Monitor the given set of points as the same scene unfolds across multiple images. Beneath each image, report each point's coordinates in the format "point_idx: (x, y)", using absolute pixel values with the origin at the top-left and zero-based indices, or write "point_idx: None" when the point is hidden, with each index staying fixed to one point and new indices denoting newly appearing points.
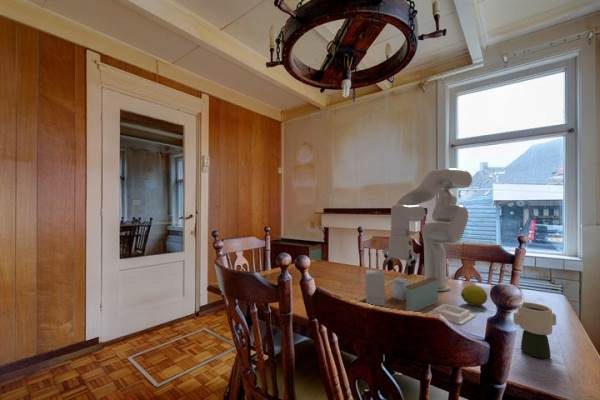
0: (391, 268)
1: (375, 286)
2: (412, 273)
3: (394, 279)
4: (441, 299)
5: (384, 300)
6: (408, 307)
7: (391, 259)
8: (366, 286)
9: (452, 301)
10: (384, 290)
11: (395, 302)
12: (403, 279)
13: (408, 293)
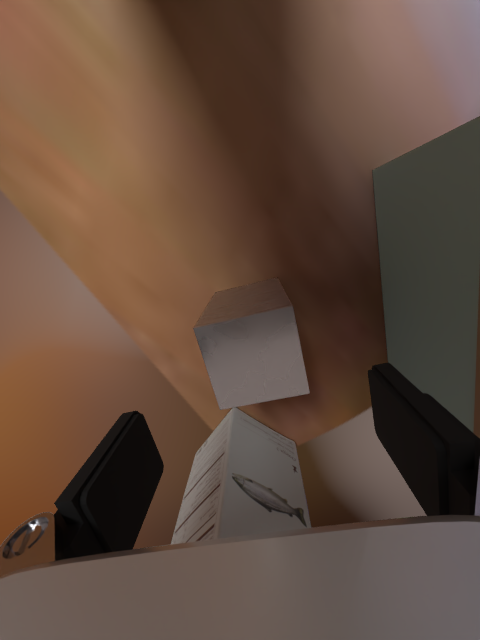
0: (143, 442)
1: None
2: (390, 367)
3: (226, 399)
4: (396, 96)
5: (297, 458)
6: None
7: (60, 552)
8: None
9: (466, 50)
10: (306, 503)
11: None
12: (257, 339)
13: None
